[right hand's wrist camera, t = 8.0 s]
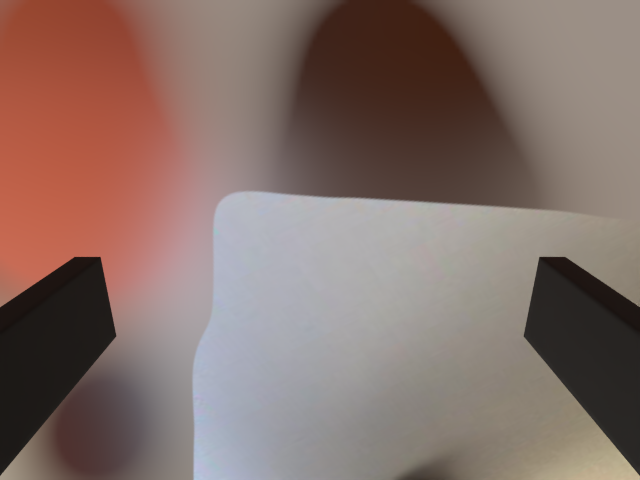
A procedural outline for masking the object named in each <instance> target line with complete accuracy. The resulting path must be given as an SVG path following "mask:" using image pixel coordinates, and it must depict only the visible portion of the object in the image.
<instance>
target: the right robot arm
mask: <svg viewBox="0 0 640 480" xmlns="http://www.w3.org/2000/svg"><path fill="white" fill-rule="evenodd" d="M115 337H116V333H115V327H114V322H113V317H112V312H111V307H110V302H109V297H108V292H107V287H106V282H105V277H104V272H103V267H102V262H101V258H100V257H74V258H73V259H71V260H70V261H68V262H67V263H65V264H64V265H62V266H61V267H59V268H58V269H56V270H55V271H53V272H52V273H51V274H49V275H48V276H46V277H45V278H43V279H42V280H40V281H39V282H37V283H36V284H34V285H33V286H31V287H30V288H28V289H27V290H25V291H24V292H22V293H21V294H19V295H18V296H16V297H15V298H13V299H12V300H11V301H9V302H7V303H6V304H4V305H3V306H2V307H0V475H1V474H2V473H3V472H4V470H5V469H6V468H7V467H8V466H9V464H10V463H11V462H12V461H13V460H14V458H15V457H16V456H17V455H18V454H19V452H20V451H21V450H22V449H23V448H24V446H25V445H26V444H27V443H28V442H29V440H30V439H31V438H32V437H33V436H34V434H35V433H36V432H37V431H38V430H39V428H40V427H41V426H42V425H43V424H44V422H45V421H46V420H47V419H48V418H49V416H50V415H51V414H52V413H53V412H54V410H55V409H56V408H57V407H58V406H59V404H60V403H61V402H62V401H63V400H64V398H65V397H66V396H67V395H68V394H69V392H70V391H71V390H72V389H73V388H74V386H75V385H76V384H77V383H78V382H79V380H80V379H81V378H82V377H83V376H84V374H85V373H86V372H87V371H88V370H89V368H90V367H91V366H92V365H93V364H94V362H95V361H96V360H97V359H98V358H99V356H100V355H101V354H102V353H103V352H104V350H105V349H106V348H107V347H108V345H109V344H110V343H111V342H112V341H113V340H114V338H115ZM524 337H525V338H526V340H527V341H528V342H529V343H530V344H531V346H532V347H533V348H534V349H535V350H536V352H537V353H538V354H539V355H540V356H541V358H542V359H543V360H544V361H545V362H546V364H547V365H548V366H549V367H550V368H551V370H552V371H553V372H554V373H555V374H556V376H557V377H558V378H559V379H560V380H561V382H562V383H563V384H564V385H565V386H566V388H567V389H568V390H569V391H570V392H571V394H572V395H573V396H574V397H575V398H576V400H577V401H578V402H579V403H580V404H581V406H582V407H583V408H584V409H585V410H586V412H587V413H588V414H589V415H590V416H591V418H592V419H593V420H594V421H595V422H596V424H597V425H598V426H599V427H600V428H601V430H602V431H603V432H604V433H605V434H606V436H607V437H608V438H609V439H610V440H611V442H612V443H613V444H614V445H615V446H616V448H617V449H618V450H619V451H620V452H621V454H622V455H623V456H624V457H625V458H626V460H627V461H628V462H629V463H630V464H631V466H632V467H633V468H634V469H635V470H636V472H637V473H638V474H639V475H640V307H638V306H637V305H636V304H634V303H633V302H631V301H630V300H628V299H627V298H625V297H624V296H622V295H621V294H619V293H618V292H616V291H615V290H613V289H612V288H610V287H609V286H607V285H606V284H604V283H603V282H601V281H600V280H598V279H597V278H595V277H594V276H593V275H591V274H590V273H588V272H587V271H585V270H584V269H582V268H581V267H579V266H578V265H576V264H575V263H573V262H572V261H570V260H569V259H567V258H566V257H539V262H538V267H537V272H536V277H535V282H534V287H533V292H532V297H531V302H530V307H529V312H528V317H527V322H526V327H525V332H524Z"/></svg>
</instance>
